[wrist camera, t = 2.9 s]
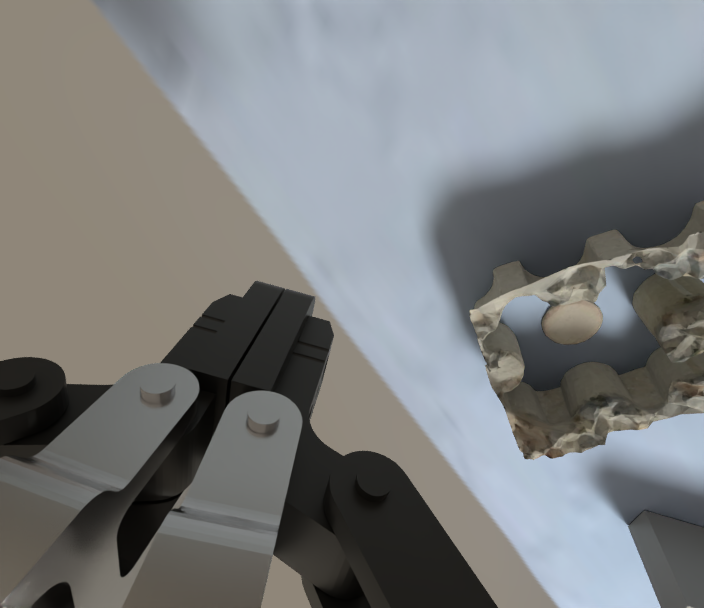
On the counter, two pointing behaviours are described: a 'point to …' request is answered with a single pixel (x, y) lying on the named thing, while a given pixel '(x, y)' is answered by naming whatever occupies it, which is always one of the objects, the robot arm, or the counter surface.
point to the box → (671, 558)
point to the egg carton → (584, 321)
